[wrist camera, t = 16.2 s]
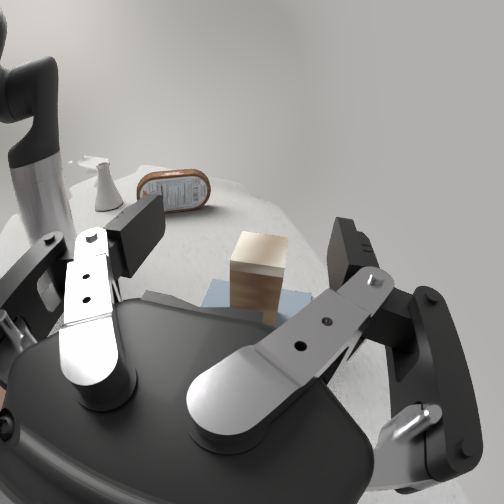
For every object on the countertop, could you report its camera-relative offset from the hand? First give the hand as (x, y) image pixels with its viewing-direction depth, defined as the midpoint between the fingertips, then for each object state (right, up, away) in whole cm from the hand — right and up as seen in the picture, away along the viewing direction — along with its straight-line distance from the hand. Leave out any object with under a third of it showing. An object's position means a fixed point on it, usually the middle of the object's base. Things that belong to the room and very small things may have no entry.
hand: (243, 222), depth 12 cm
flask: (-32, +9, +43) cm, 55 cm away
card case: (+1, -9, +18) cm, 20 cm away
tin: (-15, +7, +42) cm, 45 cm away
